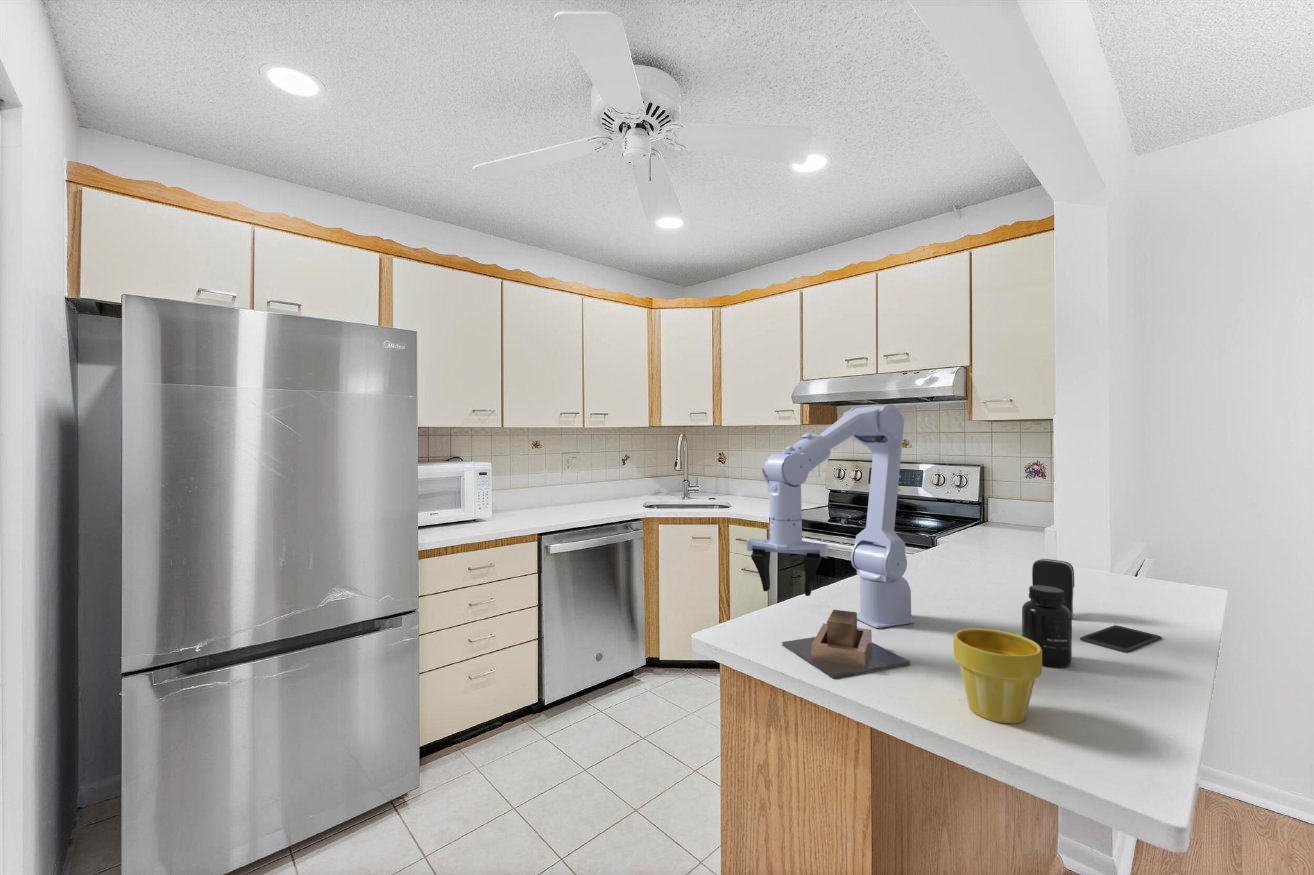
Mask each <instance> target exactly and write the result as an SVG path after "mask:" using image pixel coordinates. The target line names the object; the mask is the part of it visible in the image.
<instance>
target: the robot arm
mask: <svg viewBox="0 0 1314 875" xmlns="http://www.w3.org/2000/svg"><path fill="white" fill-rule="evenodd" d="M842 414H843V416H841V417H840V418H838V419H837V420H836V421H835V422H834V423H833V424H831V425H830V426H829V427H828V428H826V429H825V430H823V431H822V432H821V433H820V434H819V433H815V432H814V433H810V432H807V433H804V434H803V435H801V439H800V440H799V441H798V442H795V443H794V444H793V445H787V446H786V447H785V448H784V450H783V452H782V453H773V454H771V455H770V456H769V457H768V458H767V459H766V461H765V463H764V468H761V473H762V476H763V478H764V480H765V482H766V483H767V491H768V492H769V533H770V534H769V535H770V536H769V537H770V539H763V538H762V539H761V538H760V539H756V538H749V539H747V540H746V551H747V552H752V553H751V555H750V557H751V560H752V562H753V563H754V566H755V568H756V569H757V573H758V574H759V577H760V581H761V584H762V591H763V592H768V591H770V589H771V588H770V587H771V580H770V579H771V577H770V576H771V575H770V563H771V553H782V554H796V555H805V556H804V557H803V567H804V578H805V580H804V595H805V597H810V596H811V594H812V588H813V583H814V579H815V576H816V572H817V570H818V568H819V565H820V564H821V561H822V559H823V558H826V557H827V556H829V552H828V551H829V550H828V546H829V545H828V544H827V543H818V542H811V541H803V523H802V522H803V521H802V520H803V519H802V518H803V517H802V515H803V514H802V513H803V512H802V485H803V484H804V483H805V482H806V481H807V479H808V476H809V473H810V472H811V471H813V469H815V468H816V467H818V466H819V465H821V464H822V463H824V462H825V461H826V460H827V459H829V457H830V456H831V449H833V448H835V447H837V446H839V445H840V444H841V443H843V442H845V441H846V440H848V439H849V438H852V437H853V438H854V439H856V440H857V441H859V442H860V443H861V444H863V446H865V447H867V448H868V449H869V450H870V451H871V453H872V462H871V472H870V482H869V492H868V504H867V512H866V513H867V514H866V525H865V528H864V529H863V530H861V531H860V532H859V533H858V534H856V536H855V542H854V544H853V545H854V546H853V547H852V549H851V552H850V562H851V563H850V564H851V566H852V567H853V568H854V570H856V575H857V576H859V589H860V590H859V596H860V601H859V602H860V608H859V609H860V612H857V621H860V622H862V623H865V624H866V625H868V626H871V627H873V628H876V629H883V628H887V627H894V626H895V627H896V626H901V625H902V626H903V625H907V624H913V623H915V619H912V595H911V594H912V591H911V587H910V584H909V582H908V580H907V579H906V578H905V577H903V576H904V574H905V572H906V570H907V567H908V559H907V556H906V543H905V541H904V540H903V539H902V538H901V537H900V536H899V535H898V534H897V533H896V531H895V525H896V513H897V502H898V493H899V483H900V482H899V481H900V480H899V479H900V471H901V459H902V448H903V447H902V446H903V438H904V428H905V427H904V426H905V417H904V416H903V414H902V413H901V411H900V410H899V408H898V407H897V406H896V405H894V404H886V405H877V406H876V405H874V406H864V407H863V406H862V407H860V406H854V407H851V408H850V409H849V410H846V411H845V412H843V413H842ZM875 543H876V544H875Z"/></svg>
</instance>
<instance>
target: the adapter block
mask: <svg viewBox="0 0 1314 875" xmlns="http://www.w3.org/2000/svg"><path fill="white" fill-rule="evenodd" d="M857 613H858V612H856V611H849V610H841V609H833V610H832V611H831V613H830V615H829V617H828V618H827V620H826V624H827V644H831V645H837V646H844V647H851V648H857V628H858V619H857Z"/></svg>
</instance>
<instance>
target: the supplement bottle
mask: <svg viewBox="0 0 1314 875" xmlns="http://www.w3.org/2000/svg"><path fill="white" fill-rule="evenodd" d="M1028 592H1029V593H1028V598H1029V599H1030V600H1027V601H1025V602H1024V603H1023V604H1022V607H1021V636H1023V637H1025V638H1028V639H1030V640H1032V641H1034V642H1035V643H1037V644H1038V645H1039V646H1040V647H1041V649H1042V666H1045V667H1050V668H1066V667H1069V666H1071V664H1072V659H1073V658H1072V656H1073V645H1072V644H1073V643H1072V642H1073V641H1072V640H1073V628H1072V627H1073V626H1072V625H1073V624H1072V623H1073V618H1072V614H1071V612H1070V610H1069V609H1068V608H1067V607H1065V606H1064V605H1063V603H1064V602H1065V599H1064V591H1063V590H1061V589H1059V588H1055V587H1050V586H1042V585H1033V584H1032V585H1030V586H1029V588H1028Z"/></svg>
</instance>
